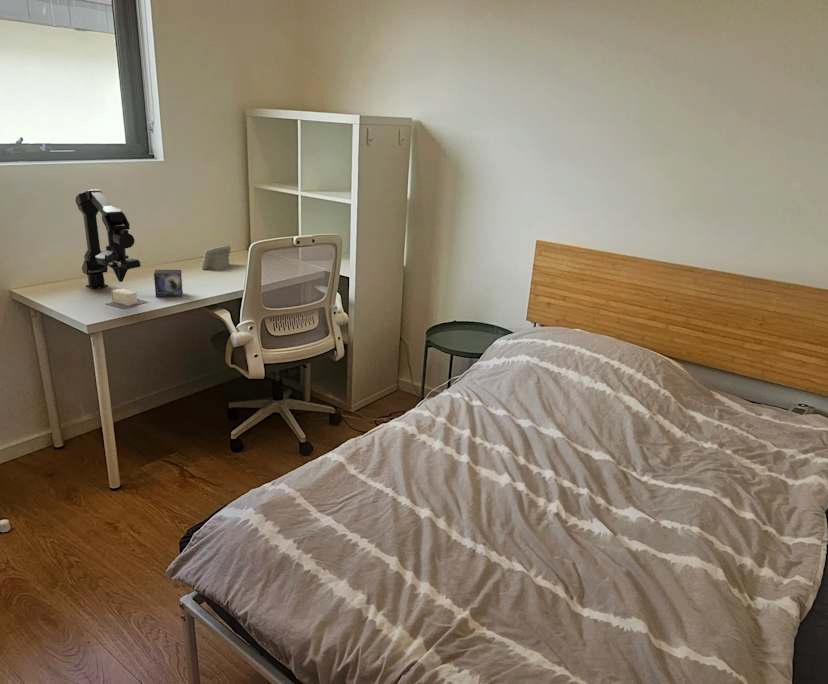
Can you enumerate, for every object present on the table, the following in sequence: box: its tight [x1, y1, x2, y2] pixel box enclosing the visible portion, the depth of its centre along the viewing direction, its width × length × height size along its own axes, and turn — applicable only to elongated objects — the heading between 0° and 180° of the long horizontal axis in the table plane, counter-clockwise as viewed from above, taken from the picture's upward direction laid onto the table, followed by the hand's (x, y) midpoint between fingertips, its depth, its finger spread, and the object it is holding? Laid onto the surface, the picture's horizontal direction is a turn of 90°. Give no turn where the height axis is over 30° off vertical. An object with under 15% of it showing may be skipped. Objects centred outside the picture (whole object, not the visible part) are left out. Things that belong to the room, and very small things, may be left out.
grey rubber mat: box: [105, 298, 148, 310], centre depth 245 cm, size 10×12×1 cm
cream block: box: [111, 287, 138, 306], centre depth 245 cm, size 4×4×9 cm
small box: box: [153, 269, 184, 298], centre depth 257 cm, size 11×6×10 cm, turn 106°
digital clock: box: [201, 245, 231, 272], centre depth 304 cm, size 16×9×11 cm, turn 140°
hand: (120, 281), depth 244 cm, fingers closed
